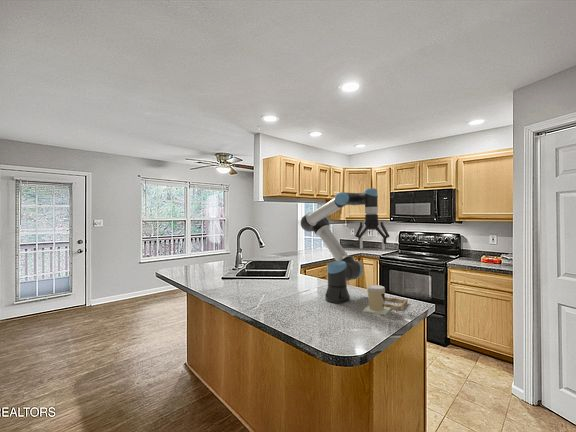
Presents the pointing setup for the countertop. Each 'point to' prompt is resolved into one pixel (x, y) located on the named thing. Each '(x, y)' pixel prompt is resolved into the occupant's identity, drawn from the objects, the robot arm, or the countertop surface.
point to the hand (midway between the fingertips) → (372, 249)
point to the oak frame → (395, 301)
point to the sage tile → (383, 312)
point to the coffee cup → (376, 297)
